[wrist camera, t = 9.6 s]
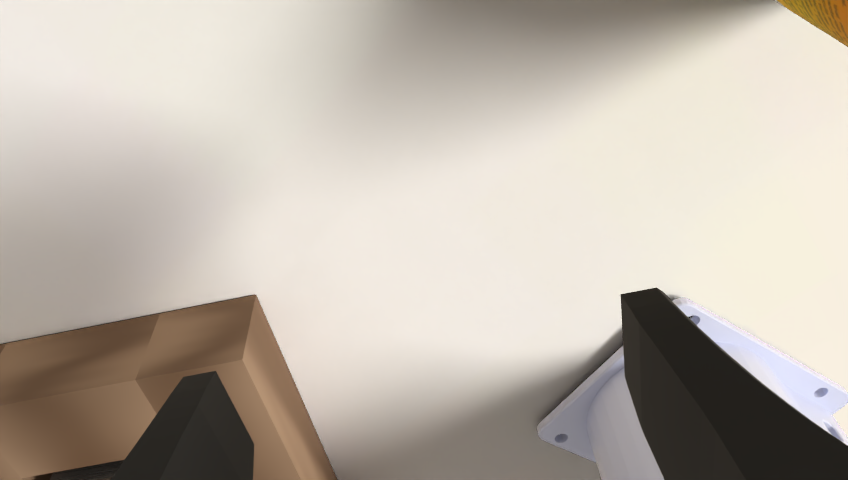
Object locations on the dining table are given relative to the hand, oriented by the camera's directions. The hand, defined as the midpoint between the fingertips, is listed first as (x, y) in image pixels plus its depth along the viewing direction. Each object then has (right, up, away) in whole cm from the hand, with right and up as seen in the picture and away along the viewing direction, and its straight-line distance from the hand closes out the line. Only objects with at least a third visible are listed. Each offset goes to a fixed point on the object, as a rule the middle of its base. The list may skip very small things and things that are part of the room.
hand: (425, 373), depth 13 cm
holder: (-10, -5, +14) cm, 19 cm away
